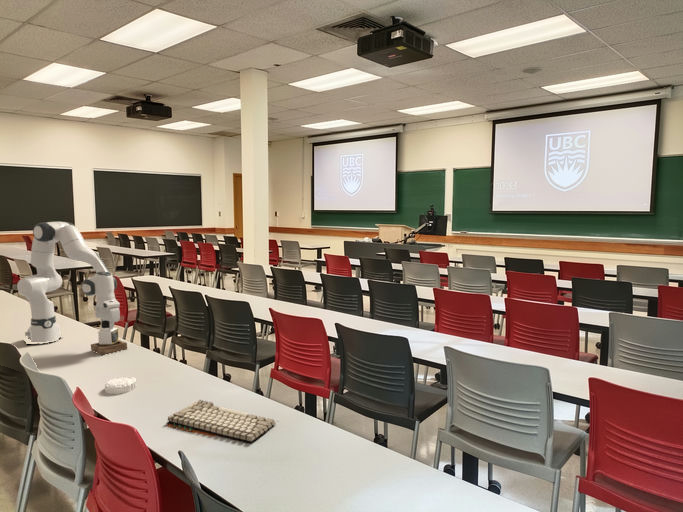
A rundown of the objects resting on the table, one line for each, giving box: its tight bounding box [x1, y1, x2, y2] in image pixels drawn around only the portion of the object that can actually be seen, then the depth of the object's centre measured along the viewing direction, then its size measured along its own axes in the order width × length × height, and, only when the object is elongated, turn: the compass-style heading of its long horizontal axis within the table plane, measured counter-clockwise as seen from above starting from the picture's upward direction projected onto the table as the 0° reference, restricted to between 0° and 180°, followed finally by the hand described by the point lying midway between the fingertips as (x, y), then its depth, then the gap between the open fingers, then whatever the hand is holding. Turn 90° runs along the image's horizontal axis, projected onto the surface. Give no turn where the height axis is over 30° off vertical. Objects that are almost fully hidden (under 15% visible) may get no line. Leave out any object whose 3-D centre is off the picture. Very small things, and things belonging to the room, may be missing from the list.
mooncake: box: [104, 376, 137, 395], centre depth 199 cm, size 12×12×4 cm
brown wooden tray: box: [90, 339, 128, 356], centre depth 253 cm, size 13×13×4 cm
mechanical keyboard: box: [165, 399, 280, 445], centre depth 166 cm, size 38×19×3 cm, turn 66°
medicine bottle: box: [97, 320, 119, 344], centre depth 252 cm, size 7×7×12 cm
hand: (107, 327), depth 252 cm, fingers closed on medicine bottle, 6 cm apart
